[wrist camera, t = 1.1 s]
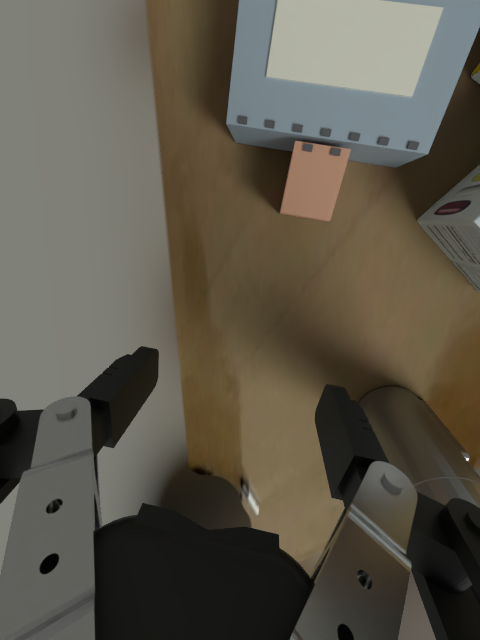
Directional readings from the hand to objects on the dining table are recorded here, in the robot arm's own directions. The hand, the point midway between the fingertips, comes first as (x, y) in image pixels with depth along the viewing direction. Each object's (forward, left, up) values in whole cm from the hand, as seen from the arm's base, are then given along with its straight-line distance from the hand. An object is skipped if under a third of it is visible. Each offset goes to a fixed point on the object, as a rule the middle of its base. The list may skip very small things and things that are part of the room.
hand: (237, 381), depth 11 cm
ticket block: (-3, -19, -23) cm, 31 cm away
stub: (-3, -11, -23) cm, 26 cm away
